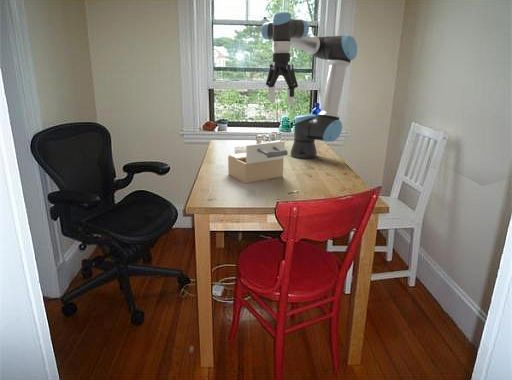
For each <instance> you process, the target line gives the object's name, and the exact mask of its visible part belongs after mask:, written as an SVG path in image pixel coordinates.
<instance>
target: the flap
mask: <svg viewBox="0 0 512 380" xmlns="http://www.w3.org/2000/svg"><path fill="white" fill-rule="evenodd" d="M246 147H247V148H246V164H249V163H256V162H263V161H270V160H277V159H283V160H285V159H284V157H285V156H288V150H287V149H285V141H284V140H281V141H271V142H265V143H264V142H263V143H256V144H246Z"/></svg>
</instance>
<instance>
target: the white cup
mask: <svg viewBox="0 0 512 380" xmlns="http://www.w3.org/2000/svg"><path fill="white" fill-rule="evenodd" d="M246 148H247V146H243V145H242V146H235V147H234V154H239V153H246Z"/></svg>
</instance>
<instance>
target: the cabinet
mask: <svg viewBox="0 0 512 380" xmlns="http://www.w3.org/2000/svg"><path fill="white" fill-rule="evenodd" d="M227 161H228V163H227V164H228V165H227V166H228V167H227V168H228V169H227V170H228V175H229V176H231V178H234V179H236V180H238V181H240V182H241V183H243V184H245V185H247V184H251V182H252V183H256V182H263V181H267V180H268V181H269V180H273V179H279V178H283V177H284V159H277V160H270V161H263V162H256V163H249V164H246V153H239V154H235V153H233V154H232V153H231V154H229V155H228V157H227Z"/></svg>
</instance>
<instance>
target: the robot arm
mask: <svg viewBox="0 0 512 380" xmlns="http://www.w3.org/2000/svg"><path fill="white" fill-rule="evenodd" d="M260 28H261V31H260V33H261V37H262V38H263V39H264V40H267V41H271V40H272V52H274V53H272V62H273V63H274V64H273V63H272V64H270V65H269V71H268V75H267V78H266V81H265V86H267V87H268V94H269V96H268V99H269V101H268V102H269V103H275V102H276V87H275V85H276V82H277V81H278V79H279V77H280V76H281V77H283V79H284V80H285V83H286V85H287V87H288V88H287V101H286V102H287V103H286V104H287V106H289V105H294V97H295V89H296V88H298V87H299V84H298V81H297V77H296V74H295V70H294V64H289V63H290V61H291V53H290V52H291V47H293V48H295V49H299V50H301V51H305V53H306V54H307V55H309V56H312V57H314V58H317V59H321V60H325V61H327V63H328V65H329V68H328V73H327V79H326V84H325V90H324V95H323V101H322V106H321V110H320V112H319V113H317V114H305V115H297V116H295V118H294V126H293V127H294V132H293V133H294V135H293V144H292V147H291V149H290V157H292V158H294V159H295V158H296V159H303V160H304V159H314V158H317V156H318V151H317V147H316V141H322V142H332V143H333V142H335V141H337V140H338V139H339V137H340V135H342V131H343V123H342V121H341V120H340V116H339V113H338V112H339V108H340V103H341V97H342V93H343V86H344V81H345V75H346V72H347V68H348V67H349V66H350V64H351V62H352V61H353V60H355V59H356V57H357V55H358V45H357V41H356V39H355V37H354V36H353V35H345V34H343V35H334V36H333V35H331V36H317V35H308V34H309V31H310V26H309V23H308V22H307V21H306V20H304V19H301V18H299V19H296V18H295V19H294V18H292V15H291V13H290V12H287V11H279V12H275V13H274V14H273V15H272V21H268V22H264V23H263V24H262V26H261V27H260Z"/></svg>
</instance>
